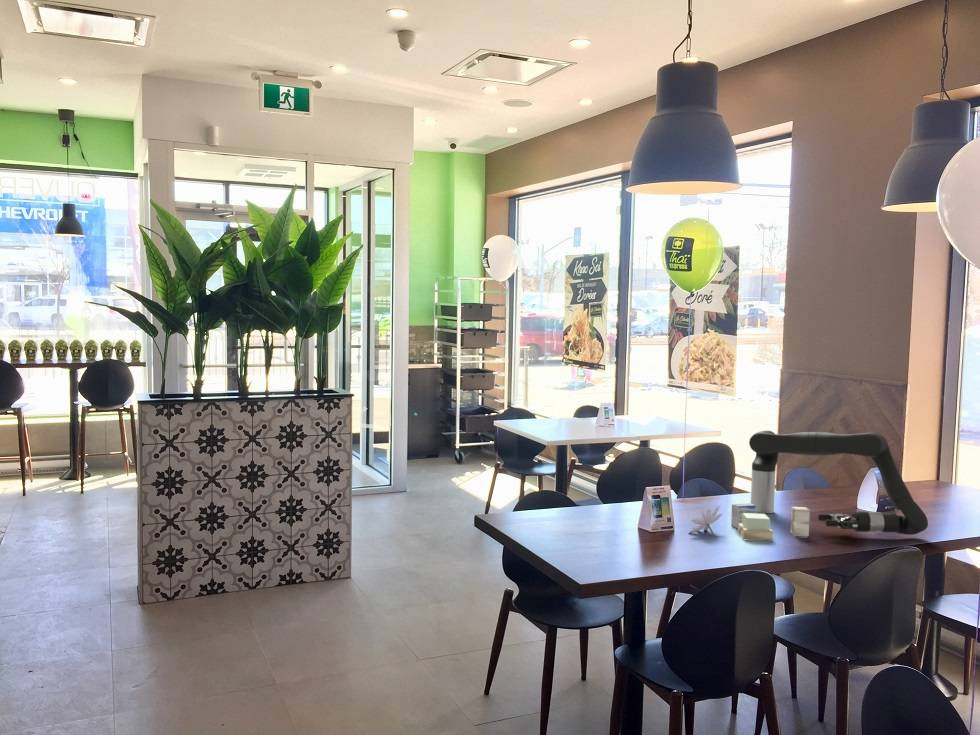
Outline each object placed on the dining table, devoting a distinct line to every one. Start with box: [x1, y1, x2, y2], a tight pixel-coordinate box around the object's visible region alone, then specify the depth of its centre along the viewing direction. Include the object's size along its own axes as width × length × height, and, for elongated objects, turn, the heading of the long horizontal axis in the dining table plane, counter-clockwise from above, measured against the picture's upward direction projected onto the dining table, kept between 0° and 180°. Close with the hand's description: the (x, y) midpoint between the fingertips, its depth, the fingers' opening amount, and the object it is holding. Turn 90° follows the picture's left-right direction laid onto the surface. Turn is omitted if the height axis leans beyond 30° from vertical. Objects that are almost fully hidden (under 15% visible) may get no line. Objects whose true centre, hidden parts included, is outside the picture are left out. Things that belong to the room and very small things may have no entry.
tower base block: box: [737, 523, 774, 541], centre depth 303 cm, size 10×10×4 cm
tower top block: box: [742, 512, 771, 530], centre depth 303 cm, size 8×8×4 cm
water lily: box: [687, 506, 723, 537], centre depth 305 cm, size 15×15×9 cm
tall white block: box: [790, 506, 811, 537], centre depth 305 cm, size 5×5×10 cm
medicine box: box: [730, 502, 757, 529], centre depth 317 cm, size 8×4×9 cm, turn 105°
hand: (822, 520), depth 305 cm, fingers open, 8 cm apart
